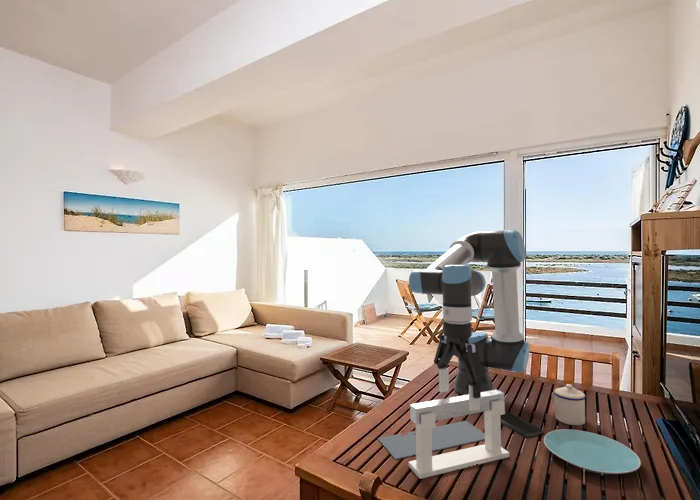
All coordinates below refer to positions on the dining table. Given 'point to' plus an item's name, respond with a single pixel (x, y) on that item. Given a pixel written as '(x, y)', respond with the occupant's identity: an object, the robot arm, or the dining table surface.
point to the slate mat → (433, 439)
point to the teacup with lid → (569, 405)
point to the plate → (592, 451)
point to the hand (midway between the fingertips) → (458, 400)
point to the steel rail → (453, 406)
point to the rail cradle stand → (460, 458)
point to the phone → (520, 425)
